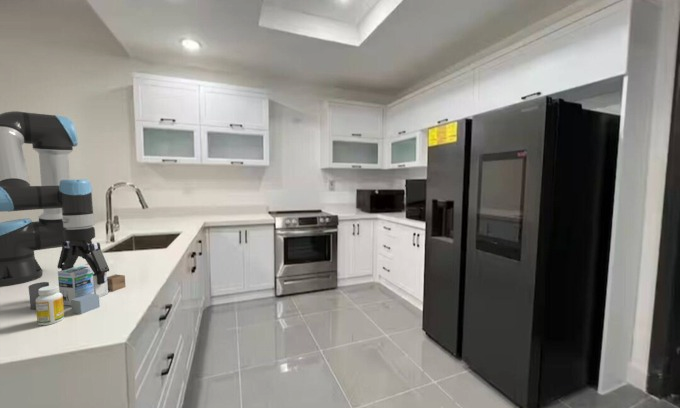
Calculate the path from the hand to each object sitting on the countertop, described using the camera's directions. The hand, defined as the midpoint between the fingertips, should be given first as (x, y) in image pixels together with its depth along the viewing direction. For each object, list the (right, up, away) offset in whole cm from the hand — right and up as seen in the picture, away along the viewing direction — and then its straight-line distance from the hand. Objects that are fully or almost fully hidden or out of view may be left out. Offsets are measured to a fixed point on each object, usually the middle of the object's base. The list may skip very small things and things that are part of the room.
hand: (84, 291), depth 97 cm
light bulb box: (0, -3, 0) cm, 3 cm away
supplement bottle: (+3, -4, -15) cm, 16 cm away
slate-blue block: (+7, -3, -8) cm, 11 cm away
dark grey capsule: (-9, -3, -5) cm, 11 cm away
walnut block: (+3, -2, +9) cm, 10 cm away
